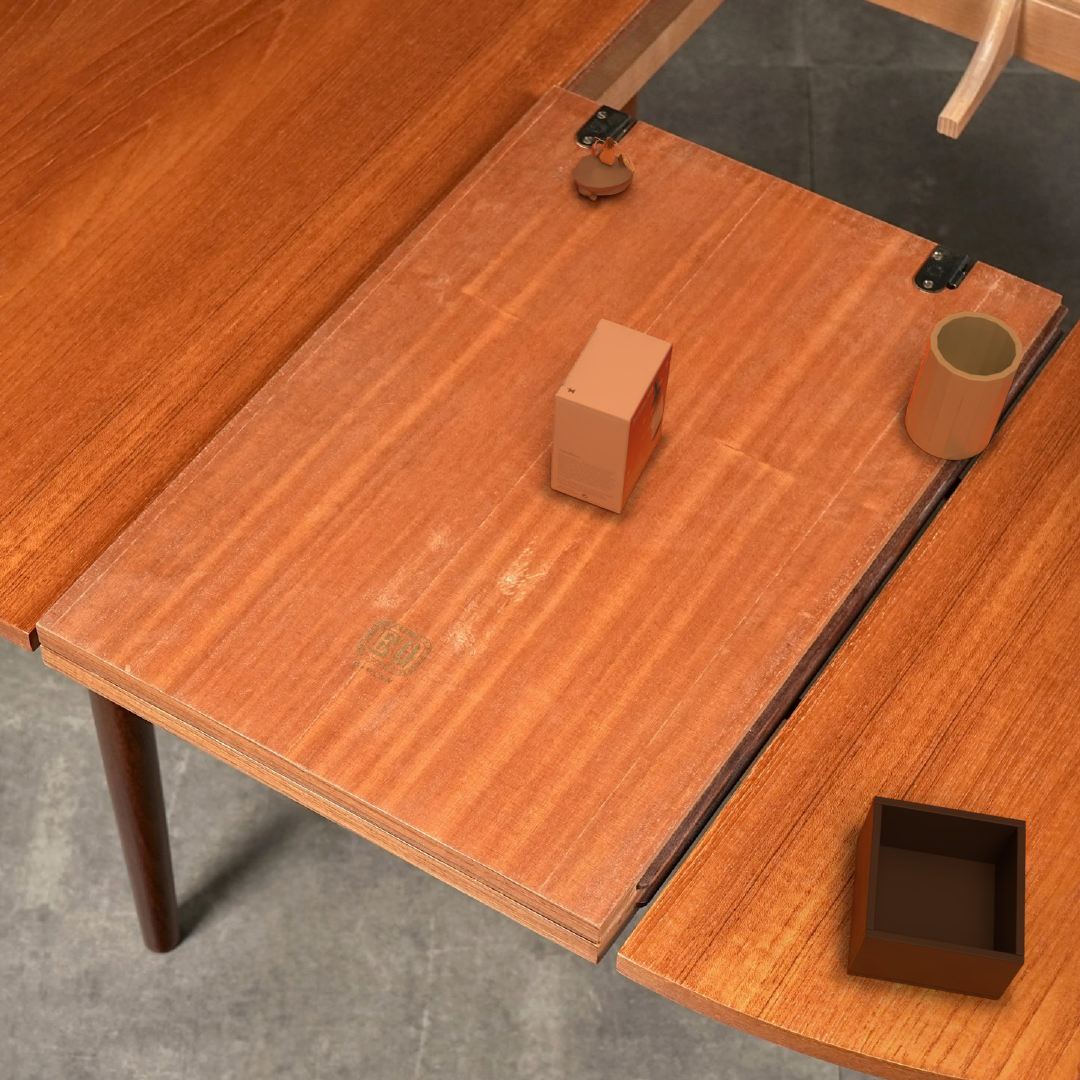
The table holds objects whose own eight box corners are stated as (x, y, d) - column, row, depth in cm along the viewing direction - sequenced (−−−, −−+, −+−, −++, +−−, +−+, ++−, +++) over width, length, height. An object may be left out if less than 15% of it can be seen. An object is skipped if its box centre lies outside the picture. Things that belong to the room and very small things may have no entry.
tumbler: (1009, 431, 126) (1042, 351, 118) (950, 474, 123) (979, 395, 116) (946, 379, 128) (973, 297, 121) (887, 420, 126) (911, 339, 118)
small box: (620, 517, 120) (629, 424, 112) (548, 489, 121) (552, 395, 113) (663, 437, 124) (675, 341, 116) (593, 411, 126) (600, 314, 117)
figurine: (577, 210, 138) (580, 154, 133) (566, 173, 140) (569, 116, 135) (640, 202, 138) (646, 146, 133) (628, 165, 141) (633, 109, 136)
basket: (998, 1000, 101) (1024, 963, 96) (847, 974, 101) (865, 936, 97) (1001, 862, 106) (1026, 820, 101) (857, 838, 107) (874, 795, 102)
